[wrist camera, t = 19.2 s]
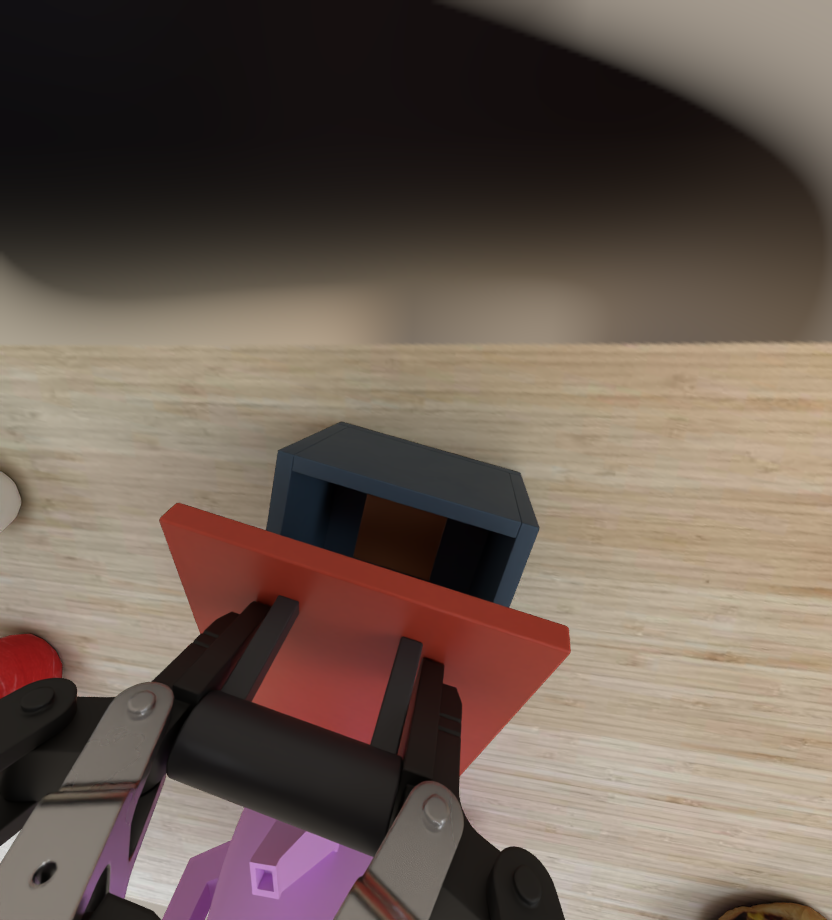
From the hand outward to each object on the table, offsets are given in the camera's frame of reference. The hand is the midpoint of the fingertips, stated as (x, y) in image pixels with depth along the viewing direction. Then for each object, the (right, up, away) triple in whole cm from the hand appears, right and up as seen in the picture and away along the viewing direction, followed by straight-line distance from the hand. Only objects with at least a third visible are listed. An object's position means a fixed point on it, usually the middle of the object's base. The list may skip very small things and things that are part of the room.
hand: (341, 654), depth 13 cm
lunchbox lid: (0, -3, +4) cm, 5 cm away
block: (+2, +3, +13) cm, 13 cm away
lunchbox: (+1, 0, +15) cm, 15 cm away
